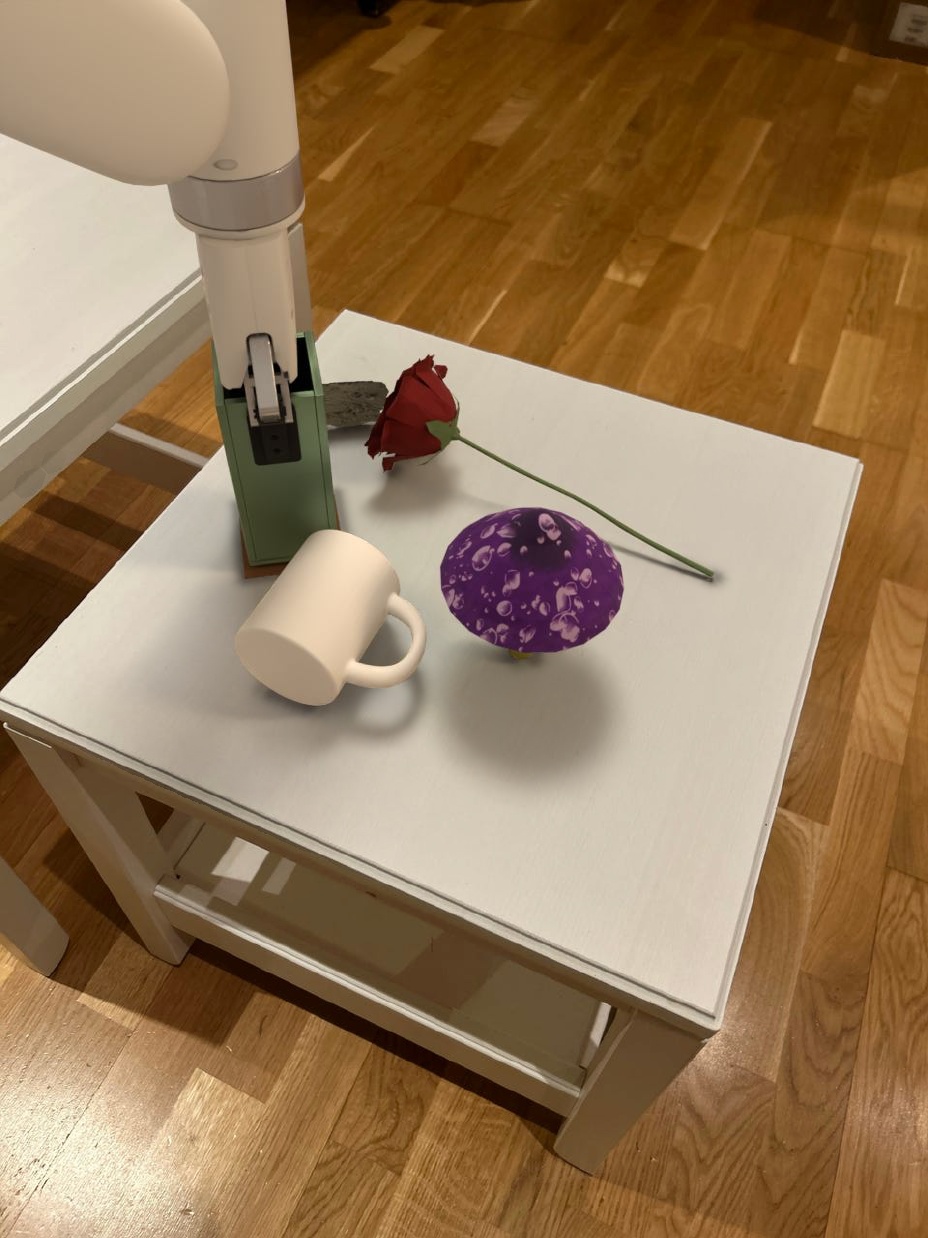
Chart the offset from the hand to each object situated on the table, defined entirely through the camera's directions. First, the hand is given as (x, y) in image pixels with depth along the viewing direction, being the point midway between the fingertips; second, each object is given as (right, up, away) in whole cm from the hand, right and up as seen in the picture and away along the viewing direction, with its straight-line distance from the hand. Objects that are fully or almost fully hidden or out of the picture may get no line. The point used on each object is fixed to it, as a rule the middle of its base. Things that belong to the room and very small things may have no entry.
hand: (273, 422), depth 67 cm
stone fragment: (+2, +3, +18) cm, 18 cm away
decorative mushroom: (+18, -17, +3) cm, 25 cm away
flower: (+20, -5, +12) cm, 24 cm away
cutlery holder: (0, -7, +9) cm, 11 cm away
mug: (+5, -17, +2) cm, 18 cm away
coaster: (-1, -7, +10) cm, 12 cm away
